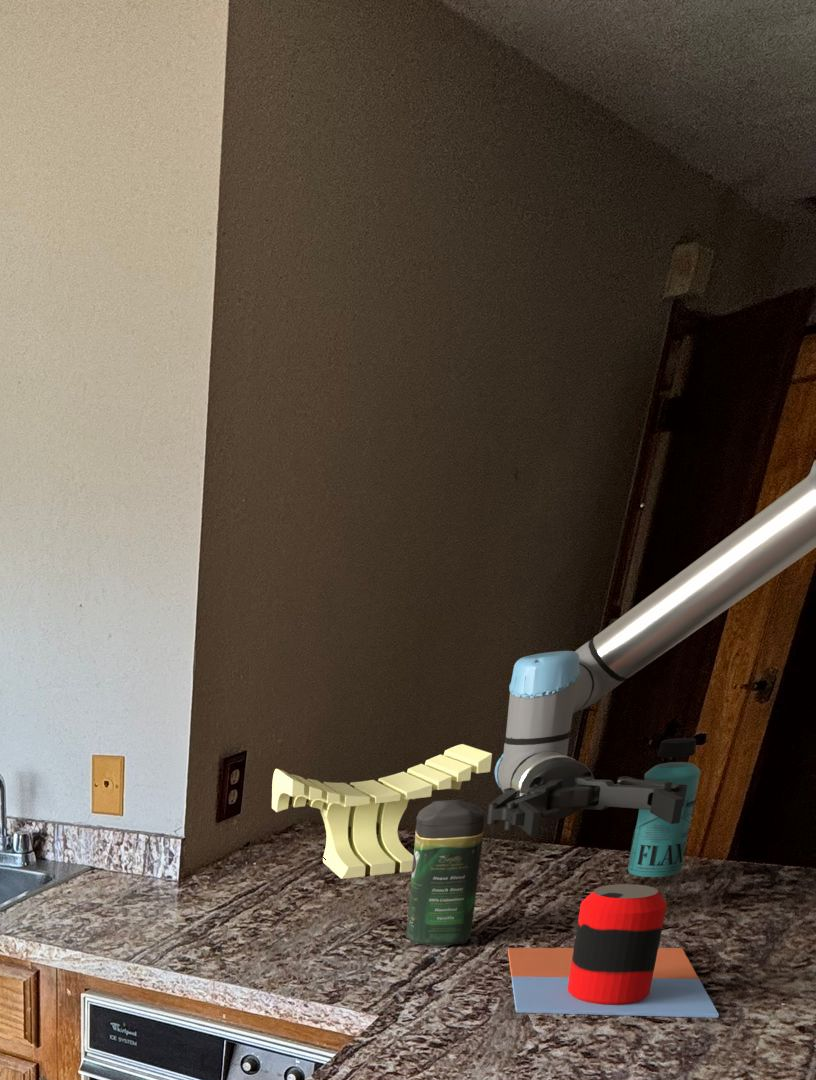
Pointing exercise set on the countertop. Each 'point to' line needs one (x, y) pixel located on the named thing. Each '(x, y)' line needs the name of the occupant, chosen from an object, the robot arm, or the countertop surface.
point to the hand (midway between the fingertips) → (605, 818)
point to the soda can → (616, 944)
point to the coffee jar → (445, 873)
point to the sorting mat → (545, 991)
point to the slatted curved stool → (374, 809)
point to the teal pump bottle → (656, 838)
